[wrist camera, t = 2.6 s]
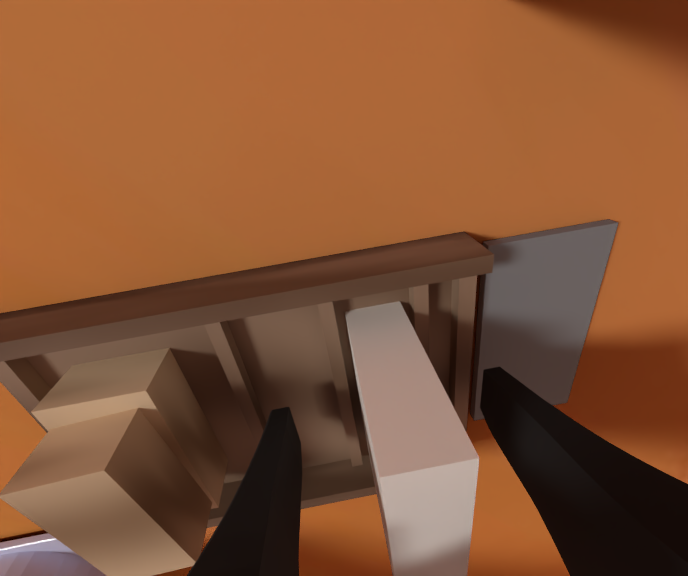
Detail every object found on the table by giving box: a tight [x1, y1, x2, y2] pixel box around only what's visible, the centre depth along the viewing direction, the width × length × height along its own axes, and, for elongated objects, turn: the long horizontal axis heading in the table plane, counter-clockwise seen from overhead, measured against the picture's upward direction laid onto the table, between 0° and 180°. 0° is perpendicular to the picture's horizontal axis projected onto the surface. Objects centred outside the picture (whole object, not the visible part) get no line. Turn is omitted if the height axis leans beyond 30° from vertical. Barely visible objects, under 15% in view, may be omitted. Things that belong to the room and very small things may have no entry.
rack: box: [0, 232, 494, 528], centre depth 13 cm, size 11×16×2 cm
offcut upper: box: [0, 408, 212, 576], centre depth 11 cm, size 6×3×2 cm, turn 12°
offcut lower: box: [31, 348, 228, 509], centre depth 12 cm, size 7×3×2 cm, turn 8°
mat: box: [470, 219, 618, 421], centre depth 14 cm, size 9×5×1 cm, turn 8°
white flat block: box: [345, 301, 479, 576], centre depth 11 cm, size 7×2×6 cm, turn 8°
